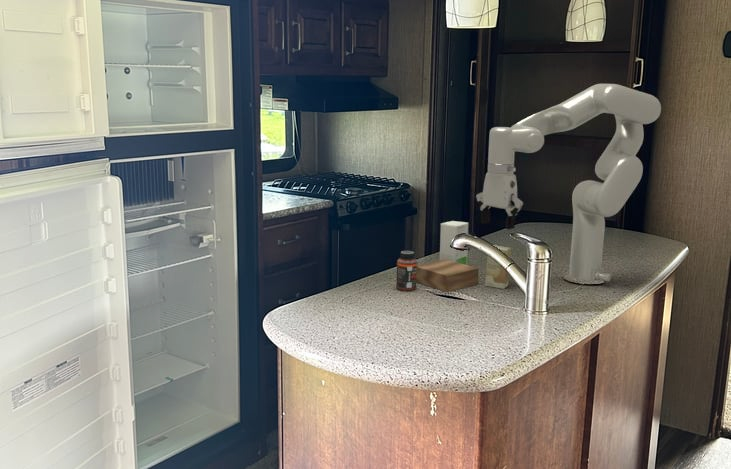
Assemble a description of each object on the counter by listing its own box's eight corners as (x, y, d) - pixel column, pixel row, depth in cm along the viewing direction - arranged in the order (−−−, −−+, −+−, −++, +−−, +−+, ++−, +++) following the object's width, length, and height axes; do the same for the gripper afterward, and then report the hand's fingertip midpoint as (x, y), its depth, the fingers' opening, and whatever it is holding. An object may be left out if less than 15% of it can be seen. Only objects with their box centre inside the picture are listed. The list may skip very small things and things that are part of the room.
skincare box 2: (484, 286, 219) (486, 247, 216) (489, 282, 223) (491, 244, 220) (505, 289, 216) (507, 249, 213) (509, 285, 220) (511, 247, 217)
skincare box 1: (454, 273, 233) (456, 226, 230) (437, 269, 237) (439, 223, 234) (467, 268, 240) (469, 222, 236) (450, 264, 244) (452, 219, 240)
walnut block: (477, 283, 221) (478, 268, 220) (446, 292, 212) (447, 275, 211) (444, 274, 232) (445, 259, 231) (413, 281, 223) (414, 266, 222)
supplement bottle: (414, 292, 212) (415, 255, 209) (394, 290, 213) (395, 253, 211) (417, 286, 218) (418, 250, 215) (398, 285, 219) (398, 249, 216)
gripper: (532, 171, 208) (528, 229, 212) (487, 165, 221) (484, 219, 225) (515, 173, 204) (511, 232, 207) (470, 167, 217) (467, 222, 220)
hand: (497, 225), depth 216 cm, fingers open, 9 cm apart
